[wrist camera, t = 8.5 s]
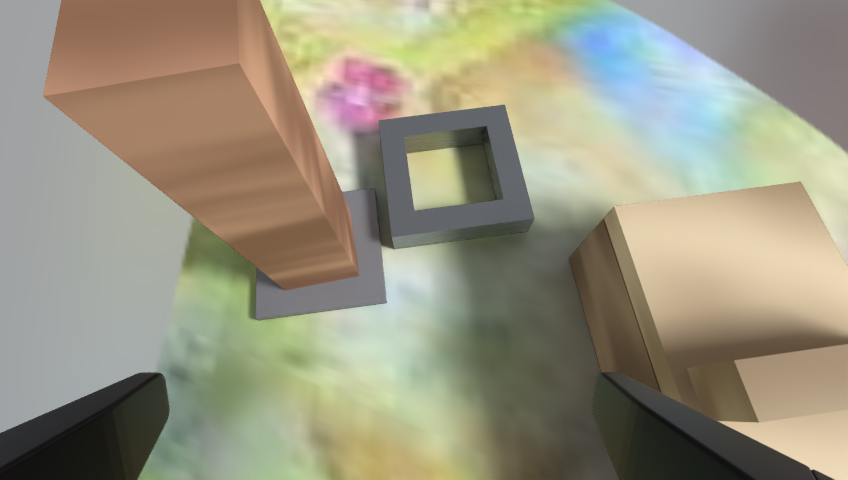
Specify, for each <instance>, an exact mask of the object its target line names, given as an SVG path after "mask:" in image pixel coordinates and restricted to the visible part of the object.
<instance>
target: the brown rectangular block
mask: <svg viewBox="0 0 848 480" xmlns="http://www.w3.org/2000/svg"><path fill="white" fill-rule="evenodd" d="M43 97H44V98H46V99H47V100H48V101H49V102H51V103H52V104H53V105H54V106H56V107H57V108H58V109H59V110H61V111H62V112H63V113H64V114H66V115H67V116H68V117H69V118H71V119H72V120H73V121H74V122H76V123H77V124H78V125H79V126H81V127H82V128H83V129H84V130H86V131H87V132H88V133H89V134H91V135H92V136H93V137H94V138H96V139H97V140H98V141H99V142H101V143H102V144H103V145H104V146H106V147H107V148H108V149H109V150H111V151H112V152H113V153H114V154H116V155H117V156H118V157H119V158H121V159H122V160H123V161H124V162H126V163H127V164H128V165H129V166H131V167H132V168H133V169H135V170H136V171H137V172H138V173H139V174H141V175H142V176H143V177H144V178H146V179H147V180H148V181H149V182H151V183H152V184H153V185H154V186H156V187H157V188H158V189H159V190H161V191H162V192H163V193H165V194H166V195H167V196H168V197H169V198H171V199H172V200H173V201H175V202H176V203H177V204H178V205H179V206H181V207H182V208H183V209H184V210H186V211H187V212H188V213H189V214H191V215H192V216H193V217H194V218H196V219H197V220H198V221H199V222H201V223H202V224H203V225H204V226H206V227H207V228H208V229H209V230H211V231H212V232H213V233H214V234H216V235H217V236H218V237H219V238H221V239H222V240H223V241H224V242H226V243H227V244H228V245H229V246H231V247H232V248H233V249H234V250H236V251H237V252H238V253H239V254H241V255H242V256H243V257H244V258H246V259H247V260H248V261H249V262H251V263H252V264H253V265H254V266H256V267H257V268H258V269H259V270H261V271H262V272H263V273H264V274H266V275H267V276H268V277H269V278H271V279H272V280H273V281H274V282H276V283H277V284H278V285H279V286H281V287H282V288H283V289H284V290H291V289H296V288H301V287H306V286H311V285H316V284H321V283H327V282H332V281H337V280H342V279H347V278H352V277H357V276H359V269H358V262H357V255H356V248H355V241H354V235H353V228H352V221H351V214H350V210H349V207H348V205H347V203H346V200H345V198H344V196H343V193H342V191H341V189H340V186H339V184H338V182H337V179H336V177H335V175H334V172H333V170H332V168H331V165H330V163H329V161H328V158H327V156H326V154H325V151H324V149H323V147H322V144H321V142H320V140H319V137H318V135H317V133H316V130H315V128H314V126H313V123H312V121H311V119H310V116H309V114H308V112H307V109H306V107H305V105H304V102H303V100H302V98H301V95H300V93H299V91H298V88H297V86H296V84H295V81H294V79H293V77H292V74H291V72H290V70H289V67H288V65H287V63H286V60H285V58H284V56H283V53H282V51H281V49H280V46H279V44H278V42H277V39H276V37H275V35H274V32H273V30H272V28H271V25H270V23H269V21H268V18H267V16H266V14H265V11H264V9H263V7H262V5H261V2H260V0H62V1H61V6H60V11H59V16H58V22H57V26H56V31H55V36H54V42H53V47H52V52H51V57H50V62H49V67H48V73H47V78H46V83H45V88H44V93H43Z"/></svg>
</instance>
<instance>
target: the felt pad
mask: <svg viewBox="0 0 848 480" xmlns="http://www.w3.org/2000/svg"><path fill="white" fill-rule="evenodd" d="M342 193H343V196H344V198H345V200H346V203H347V205H348V207H349V210H350V214H351V221H352V228H353V235H354V241H355V248H356V255H357V262H358V269H359V276H357V277H352V278H347V279H342V280H337V281H332V282H327V283H321V284H316V285H311V286H306V287H301V288H296V289H291V290H284V289H283V288H282V287H281V286H279V285H278V284H277V283H276V282H274V281H273V280H272V279H271V278H269V277H268V276H267V275H266V274H264V273H263V272H262V271H261V270H259V269H258V268H257V275H256V318H255V319H257V320H266V319H273V318H281V317H288V316H295V315H303V314H310V313H317V312H325V311H332V310H339V309H347V308H354V307H361V306H369V305H376V304H383V303H387V301H386V291H385V281H384V271H383V261H382V251H381V241H380V231H379V221H378V211H377V201H376V192H375V188H371V189H364V190H356V191H348V192H342Z"/></svg>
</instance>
